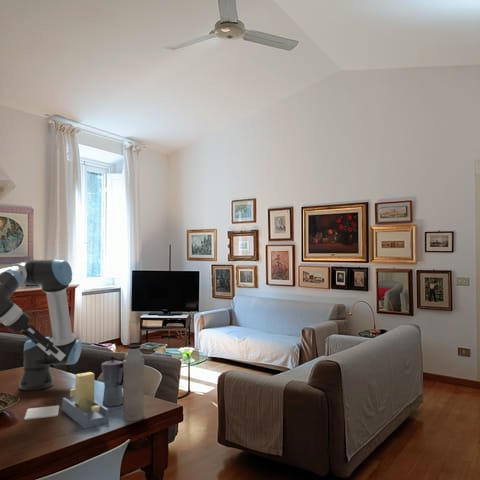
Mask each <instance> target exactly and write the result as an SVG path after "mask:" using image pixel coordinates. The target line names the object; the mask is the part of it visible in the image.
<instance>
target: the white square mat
mask: <svg viewBox="0 0 480 480" xmlns="http://www.w3.org/2000/svg"><path fill="white" fill-rule="evenodd" d="M59 409H60V405H50V406H40V407H31V408H27V410H26V413H25V416H24V418H23V420H24V421H28V420H29V421H30V420H36V419H38V420H39V419H43V418H44V419H45V418H52V417H53V418H55V417H58V416H59Z"/></svg>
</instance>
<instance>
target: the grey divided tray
mask: <svg viewBox="0 0 480 480" xmlns="http://www.w3.org/2000/svg"><path fill="white" fill-rule="evenodd" d="M75 391H76V387H75V388H72V389H71V388H70V389H69V396H70V398H75ZM109 410H110V409H109V407H107V406H103V404H101V403H100V402H99V401H97V400H95V399H94V406H92V407H91V410H90V411H85V412H84V411H83V410H81V409H80V408H79V407H77V406H76V405H75V401H70V400H69V399H68V398H66V397H63V398H62V411H63V412H64V413H65V414H66V415H67V416H68V417H70V418H71V419H72V420H73V421H75V422H76V423H77V424H79V426H81V427H82V428H83V429H89V428H93V427H96V426H102V425H105V424H109V421H110V420H109V415H110V414H109Z"/></svg>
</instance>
